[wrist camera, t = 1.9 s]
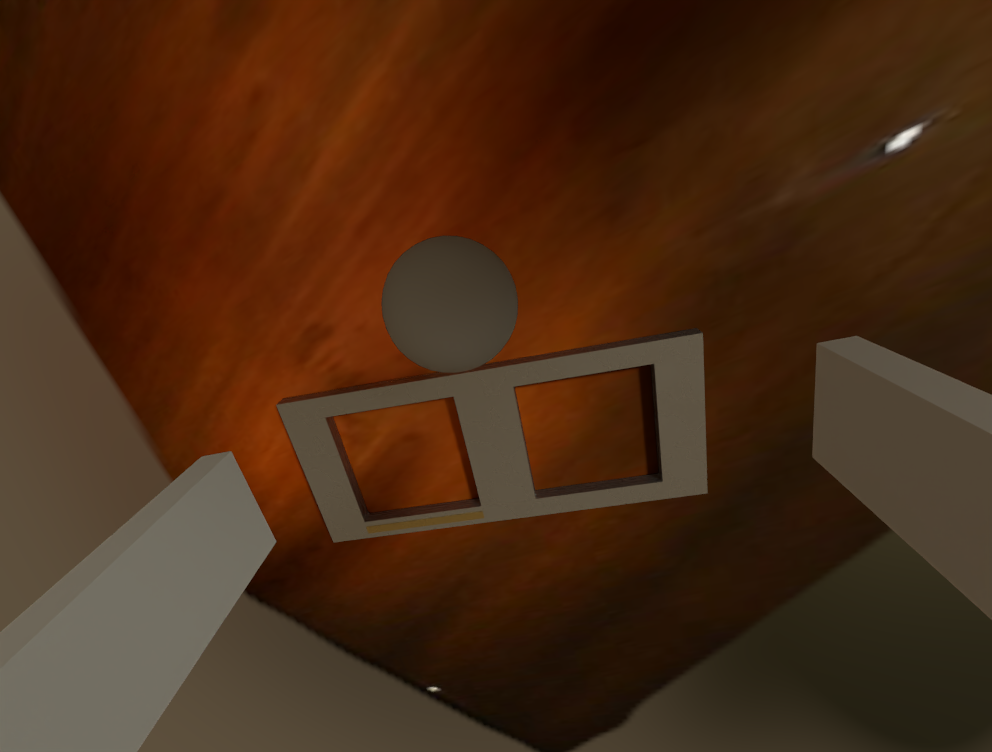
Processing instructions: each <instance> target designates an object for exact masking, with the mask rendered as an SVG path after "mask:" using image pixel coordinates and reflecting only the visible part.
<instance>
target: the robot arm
mask: <svg viewBox="0 0 992 752" xmlns="http://www.w3.org/2000/svg"><path fill="white" fill-rule="evenodd" d="M812 457H813V458H814V459H815V460H816V461H817V462H818V463H820V464H821V465H822V466H823V467H824V468H825V469H826V470H827V471H828V472H829V473H831V474H832V475H833V476H834V477H835V478H836V479H837V480H838V481H839V482H840V483H842V484H843V485H844V486H845V487H846V488H847V489H848V490H849V491H850V492H851V493H853V494H854V495H855V496H856V497H857V498H858V499H859V500H860V501H861V502H863V503H864V504H865V505H866V506H867V507H868V508H869V509H870V510H871V511H872V512H874V513H875V514H876V515H877V516H878V517H879V518H880V519H881V520H882V521H883V522H885V523H886V524H887V525H888V526H889V527H890V528H891V529H892V530H893V531H894V532H896V533H897V534H898V535H899V536H900V537H901V538H902V539H903V540H904V541H905V542H907V543H908V544H909V545H910V546H911V547H912V548H913V549H914V550H915V551H917V552H918V553H919V554H920V555H921V556H922V557H923V558H924V559H925V560H926V561H928V562H929V563H930V564H931V565H932V566H933V567H934V568H935V569H936V570H937V571H939V572H940V573H941V574H942V575H943V576H944V577H945V578H946V579H948V581H950V582H951V583H952V584H953V585H954V586H955V587H956V588H957V589H958V590H959V591H961V592H962V593H963V594H964V595H965V596H966V597H967V598H968V599H969V600H971V601H972V602H973V603H974V604H975V605H976V606H977V607H978V608H979V609H980V610H982V611H983V612H984V613H985V614H986V615H987V616H988V617H989V618H990V619H991V620H992V395H990V394H988V393H986V392H984V391H981V390H979V389H977V388H974V387H972V386H970V385H968V384H965V383H963V382H961V381H959V380H956V379H954V378H952V377H949V376H947V375H945V374H943V373H940V372H938V371H936V370H933V369H931V368H929V367H927V366H924V365H922V364H920V363H917V362H915V361H913V360H911V359H908V358H906V357H904V356H901V355H899V354H897V353H895V352H892V351H890V350H888V349H885V348H883V347H881V346H879V345H876V344H874V343H872V342H870V341H867V340H865V339H863V338H860V337H858V336H854V337H848V338H843V339H837V340H832V341H827V342H821V343H817V354H816V379H815V403H814V428H813V452H812ZM275 543H276V540H275V538H274V536H273V534H272V532H271V530H270V528H269V526H268V524H267V522H266V520H265V518H264V516H263V514H262V512H261V510H260V508H259V506H258V504H257V502H256V500H255V498H254V496H253V494H252V492H251V490H250V488H249V486H248V484H247V482H246V480H245V478H244V476H243V474H242V472H241V470H240V468H239V466H238V464H237V462H236V460H235V458H234V456H233V454H232V452H231V451H229V452H224V453H219V454H213V455H208V456H202V457H201V458H200V459H198V460H197V461H196V462H195V463H194V464H193V465H192V466H190V467H189V468H188V469H187V470H186V471H185V472H183V473H182V474H181V475H180V476H179V477H178V478H177V479H175V480H174V481H173V482H172V483H171V484H170V485H169V486H167V487H166V488H165V489H164V490H163V491H162V492H161V493H159V495H157V496H156V497H155V498H154V499H153V500H152V501H150V502H149V503H148V504H147V505H146V506H144V507H143V508H142V509H141V510H140V511H139V512H138V513H136V514H135V515H134V516H133V517H132V518H131V519H130V520H128V521H127V522H126V523H125V524H124V525H123V526H122V527H120V528H119V529H118V530H117V531H116V532H115V533H114V534H112V535H111V536H110V537H109V538H108V539H107V540H105V541H104V542H103V543H102V544H101V545H100V546H99V547H97V548H96V549H95V550H94V551H93V552H92V553H91V554H89V555H88V556H87V557H86V558H85V559H84V560H83V561H81V562H80V563H79V564H78V565H77V566H76V567H75V568H73V569H72V570H71V571H70V572H69V573H68V574H67V575H65V576H64V577H63V578H62V579H61V580H60V581H58V582H57V583H56V584H55V585H54V586H53V587H52V588H51V589H49V590H48V591H47V592H46V593H45V594H44V595H42V596H41V597H40V598H39V599H38V600H37V601H36V602H34V603H33V604H32V605H31V606H30V607H29V608H28V609H26V610H25V611H24V612H23V613H22V614H21V615H20V616H18V617H17V618H16V619H15V620H14V621H13V622H11V623H10V624H9V625H8V626H7V627H6V628H5V629H3V631H1V632H0V752H137V751H138V749H139V748H140V746H141V745H142V743H143V742H144V740H145V739H146V737H147V736H148V734H149V733H150V731H151V730H152V728H153V727H154V725H155V724H156V722H157V721H158V719H159V718H160V716H161V715H162V713H163V712H164V710H165V709H166V707H167V706H168V704H169V703H170V701H171V700H172V698H173V697H174V695H175V694H176V692H177V691H178V689H179V688H180V686H181V685H182V683H183V682H184V680H185V679H186V677H187V675H188V674H189V672H190V671H191V670H192V668H193V666H194V665H195V663H196V662H197V661H198V659H199V658H200V656H201V654H202V653H203V652H204V650H205V648H206V647H207V645H208V644H209V642H210V641H211V639H212V638H213V636H214V635H215V633H216V632H217V630H218V629H219V627H220V626H221V624H222V623H223V621H224V620H225V618H226V617H227V615H228V614H229V612H230V611H231V609H232V608H233V606H234V605H235V603H236V602H237V600H238V599H239V597H240V596H241V594H242V593H243V591H244V590H245V588H246V587H247V585H248V584H249V582H250V581H251V579H252V578H253V576H254V575H255V573H256V572H257V570H258V569H259V567H260V566H261V564H262V563H263V561H264V560H265V558H266V557H267V555H268V554H269V552H270V551H271V549H272V548H273V546H274V545H275Z"/></svg>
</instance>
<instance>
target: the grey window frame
mask: <svg viewBox="0 0 992 752" xmlns="http://www.w3.org/2000/svg"><path fill="white" fill-rule="evenodd" d="M649 364H651V378H652V391H653V404H654V417H655V431H656V444H657V457H658V471H659V473H658V474H650V475H643V476H636V477H629V478H621V479H614V480H607V481H600V482H592V483H585V484H578V485H571V486H563V487H556V488H549V489H542V490H535V488H534V483H533V477H532V472H531V467H530V462H529V457H528V452H527V447H526V442H525V437H524V432H523V427H522V422H521V417H520V412H519V407H518V402H517V397H516V392H515V386H521V385H527V384H533V383H539V382H545V381H552V380H558V379H564V378H570V377H576V376H582V375H588V374H594V373H601V372H607V371H613V370H619V369H625V368H631V367H637V366H643V365H649ZM448 397H454V400H455V404H456V408H457V412H458V416H459V420H460V424H461V428H462V432H463V436H464V440H465V444H466V447H467V451H468V455H469V459H470V463H471V467H472V471H473V475H474V479H475V483H476V487H477V491H478V495H479V498H476V499H469V500H462V501H455V502H447V503H440V504H433V505H426V506H418V507H411V508H404V509H397V510H389V511H382V512H375V513H368V511H367V508H366V505H365V503H364V500H363V497H362V495H361V492H360V489H359V486H358V484H357V481H356V478H355V476H354V473H353V470H352V467H351V465H350V462H349V459H348V457H347V454H346V451H345V449H344V446H343V443H342V440H341V438H340V435H339V432H338V430H337V427H336V424H335V422H334V419H333V416H337V415H344V414H350V413H356V412H362V411H368V410H374V409H380V408H386V407H393V406H399V405H405V404H411V403H417V402H423V401H429V400H435V399H441V398H448ZM276 406H277V408H278V411H279V413H280V416H281V418H282V420H283V423H284V425H285V428H286V430H287V432H288V435H289V437H290V440H291V442H292V444H293V447H294V449H295V452H296V454H297V456H298V459H299V461H300V464H301V466H302V468H303V471H304V473H305V476H306V478H307V480H308V483H309V485H310V487H311V490H312V492H313V495H314V497H315V499H316V502H317V504H318V507H319V509H320V511H321V514H322V516H323V519H324V521H325V523H326V526H327V528H328V531H329V533H330V535H331V538H332V540H333V543H334V542H341V541H349V540H356V539H364V538H372V537H379V536H387V535H394V534H402V533H410V532H417V531H425V530H432V529H440V528H448V527H455V526H463V525H470V524H478V523H485V522H493V521H501V520H508V519H516V518H523V517H531V516H539V515H546V514H554V513H561V512H569V511H577V510H584V509H592V508H599V507H607V506H614V505H622V504H630V503H637V502H645V501H652V500H660V499H668V498H675V497H683V496H690V495H698V494H706V493H707V462H706V427H705V392H704V357H703V333H702V332H701V331H700V330H699V329H697V328H695V329H689V330H683V331H677V332H671V333H665V334H660V335H654V336H648V337H642V338H636V339H630V340H624V341H618V342H612V343H607V344H601V345H595V346H589V347H583V348H577V349H571V350H565V351H560V352H554V353H548V354H542V355H536V356H530V357H524V358H518V359H512V360H507V361H501V362H495V363H489V364H483V365H481V366H479V367H477V368H474V369H471V370H468V371H463V372H457V373H442V372H436V373H430V374H424V375H418V376H412V377H407V378H401V379H395V380H389V381H383V382H377V383H371V384H365V385H360V386H354V387H348V388H342V389H336V390H330V391H324V392H318V393H312V394H307V395H301V396H295V397H289V398H283V399H282V400H281V401H280V402H279V403H278V404H276Z"/></svg>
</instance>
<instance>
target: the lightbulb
mask: <svg viewBox="0 0 992 752" xmlns="http://www.w3.org/2000/svg"><path fill="white" fill-rule="evenodd" d="M517 311H518V298H517V292H516V287H515V284H514V281H513V279H512V276H511V274H510V272H509V271H508V269H507V267H506V266H505V264H504V263H503V262H502V260H501V259H500V258H499V257H498V256H497V255H496V254H495V253H494V252H493V251H491V250H490V249H488V248H487V247H485V246H484V245H483V244H480V243H478V242H476V241H473V240H471V239H468V238H464V237H459V236H439V237H434V238H429V239H427V240H424V241H422V242H420V243H417V244H416V245H414V246H413V247H411V248H410V249H408V250H407V251H406V252H404V253H403V254H402V255H401V256H400V257H399V258H398V260H397V261H396V262H395V263H394V265H393V266H392V268H391V270H390V272H389V273H388V275H387V279H386V282H385V285H384V288H383V294H382V314H383V319H384V322H385V325H386V329H387V331H388V333H389V335H390V337H391V339H392V341H393V342H394V344H395V345H396V346H397V347H398V349H399V350H400V351H401V352H402V353H403V354H404V355H405V356H406V357H407V358H409V359H410V360H411V361H413V362H415V363H416V364H418V365H419V366H422V367H424V368H427V369H429V370H432V371H437V372H442V373H457V372H463V371H468V370H471V369H474V368H477V367H479V366H481V365H483V364H485V363H486V362H488V361H490V360H491V359H492V358H493V357H494V356H496V355H497V354H498V353H499V352H500V351H501V350H502V348H503V347H504V345H505V344H506V343H507V341H508V340H509V338H510V336H511V334H512V332H513V330H514V328H515V323H516V319H517Z"/></svg>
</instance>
